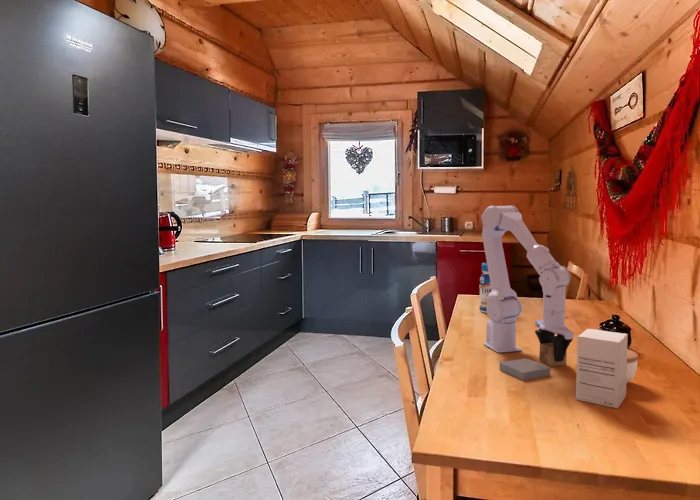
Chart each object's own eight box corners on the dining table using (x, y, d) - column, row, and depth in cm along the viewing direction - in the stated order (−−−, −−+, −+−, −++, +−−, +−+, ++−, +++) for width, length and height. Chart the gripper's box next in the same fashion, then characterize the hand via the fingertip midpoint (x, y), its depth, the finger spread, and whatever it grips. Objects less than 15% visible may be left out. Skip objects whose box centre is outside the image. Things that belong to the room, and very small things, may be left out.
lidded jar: (611, 392, 119) (612, 353, 118) (579, 377, 129) (580, 341, 128) (647, 387, 122) (649, 349, 121) (613, 373, 132) (614, 338, 131)
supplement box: (585, 388, 122) (587, 327, 120) (626, 396, 116) (629, 333, 115) (574, 399, 115) (576, 335, 113) (617, 409, 109) (620, 342, 108)
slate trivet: (499, 371, 136) (499, 362, 135) (525, 366, 139) (525, 358, 139) (522, 382, 127) (523, 372, 127) (550, 377, 131) (550, 367, 131)
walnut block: (539, 361, 143) (539, 343, 142) (554, 359, 144) (555, 342, 143) (550, 366, 138) (550, 348, 137) (566, 364, 139) (566, 347, 138)
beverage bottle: (498, 309, 211) (499, 262, 209) (501, 313, 203) (502, 264, 201) (478, 309, 212) (478, 262, 210) (480, 313, 204) (480, 264, 202)
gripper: (526, 306, 146) (525, 351, 147) (557, 316, 131) (556, 367, 133) (547, 304, 147) (546, 349, 148) (581, 315, 133) (579, 365, 134)
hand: (552, 358), depth 141 cm, fingers closed on walnut block, 5 cm apart
